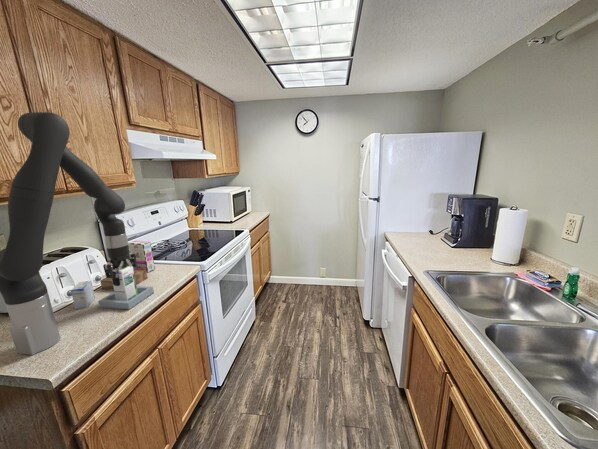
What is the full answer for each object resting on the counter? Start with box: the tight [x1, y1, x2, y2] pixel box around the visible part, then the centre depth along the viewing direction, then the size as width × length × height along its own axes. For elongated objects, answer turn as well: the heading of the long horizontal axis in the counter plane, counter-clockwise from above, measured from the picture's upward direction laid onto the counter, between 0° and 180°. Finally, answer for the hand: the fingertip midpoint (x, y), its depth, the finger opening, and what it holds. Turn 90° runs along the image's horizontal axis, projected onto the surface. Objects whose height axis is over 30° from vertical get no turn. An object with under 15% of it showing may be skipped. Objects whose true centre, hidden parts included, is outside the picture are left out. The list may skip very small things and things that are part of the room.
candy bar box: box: [128, 240, 156, 274], centre depth 139 cm, size 11×5×16 cm, turn 71°
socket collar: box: [99, 269, 149, 291], centre depth 125 cm, size 13×13×4 cm
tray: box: [97, 285, 155, 311], centre depth 110 cm, size 14×14×3 cm
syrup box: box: [112, 266, 138, 301], centre depth 108 cm, size 6×6×14 cm
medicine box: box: [70, 280, 96, 310], centre depth 107 cm, size 8×4×9 cm, turn 21°
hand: (124, 281), depth 108 cm, fingers open, 6 cm apart
